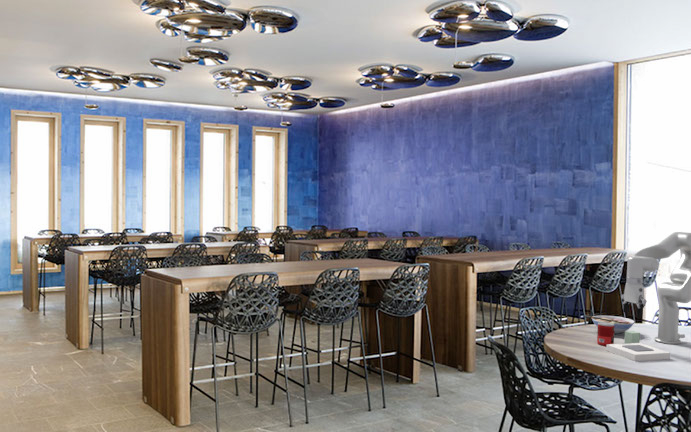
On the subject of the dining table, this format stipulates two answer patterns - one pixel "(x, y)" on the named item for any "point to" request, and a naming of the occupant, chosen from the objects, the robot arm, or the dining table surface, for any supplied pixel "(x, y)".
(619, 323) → the ramen bowl
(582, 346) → the dining table surface
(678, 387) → the dining table surface
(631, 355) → the base board
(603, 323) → the canned food
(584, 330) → the dining table surface
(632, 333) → the green block
